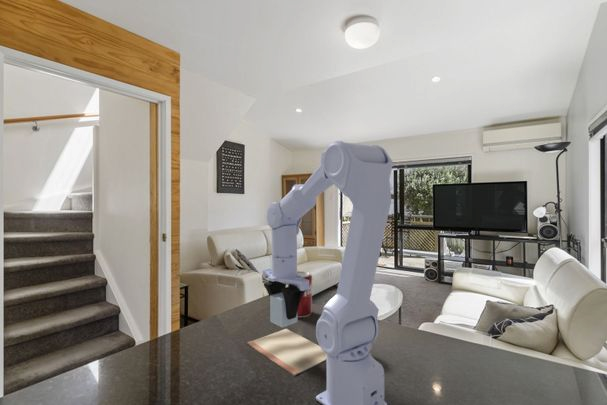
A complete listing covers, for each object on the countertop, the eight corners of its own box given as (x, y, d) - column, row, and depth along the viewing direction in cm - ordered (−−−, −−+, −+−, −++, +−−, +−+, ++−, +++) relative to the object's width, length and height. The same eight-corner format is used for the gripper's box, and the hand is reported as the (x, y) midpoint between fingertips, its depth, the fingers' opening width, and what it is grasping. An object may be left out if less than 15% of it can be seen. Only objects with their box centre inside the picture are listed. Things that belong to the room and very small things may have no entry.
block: (297, 322, 71) (297, 295, 70) (282, 327, 68) (281, 300, 68) (285, 316, 74) (285, 291, 74) (270, 321, 71) (269, 295, 71)
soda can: (284, 316, 92) (284, 276, 91) (292, 308, 99) (292, 270, 98) (308, 319, 90) (308, 278, 89) (314, 310, 96) (314, 272, 96)
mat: (335, 355, 69) (335, 353, 69) (294, 375, 62) (294, 374, 61) (286, 329, 83) (286, 328, 83) (246, 343, 75) (246, 342, 75)
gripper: (251, 253, 73) (252, 310, 74) (291, 263, 63) (291, 330, 63) (275, 249, 78) (276, 303, 78) (316, 258, 67) (316, 320, 68)
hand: (284, 314), depth 71 cm, fingers closed on block, 4 cm apart
